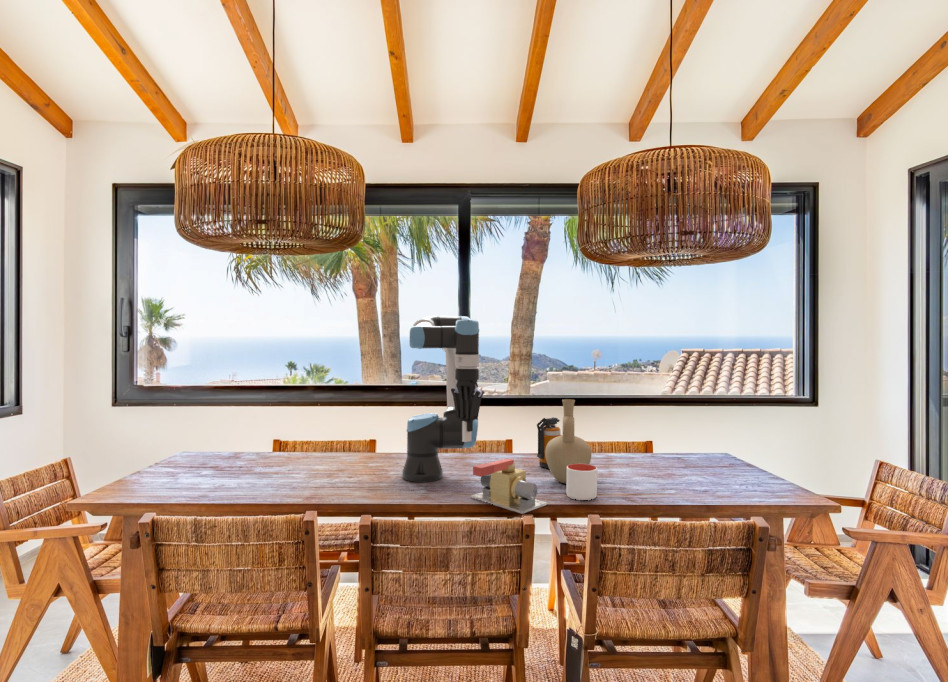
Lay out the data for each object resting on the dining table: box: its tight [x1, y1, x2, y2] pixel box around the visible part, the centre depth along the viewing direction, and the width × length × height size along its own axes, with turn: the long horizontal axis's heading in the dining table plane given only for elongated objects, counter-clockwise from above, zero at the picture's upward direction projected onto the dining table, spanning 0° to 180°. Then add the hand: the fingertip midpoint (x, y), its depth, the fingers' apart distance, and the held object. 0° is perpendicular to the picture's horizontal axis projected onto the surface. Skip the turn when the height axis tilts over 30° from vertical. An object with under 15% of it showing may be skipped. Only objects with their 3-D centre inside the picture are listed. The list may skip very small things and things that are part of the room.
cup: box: [565, 464, 598, 501], centre depth 183 cm, size 10×10×10 cm
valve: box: [470, 467, 548, 515], centre depth 178 cm, size 22×12×10 cm, turn 45°
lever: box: [472, 458, 516, 478], centre depth 174 cm, size 17×4×4 cm, turn 135°
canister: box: [536, 416, 563, 469], centre depth 222 cm, size 9×11×20 cm
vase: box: [545, 398, 592, 484], centre depth 201 cm, size 17×17×30 cm
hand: (466, 441), depth 177 cm, fingers closed
